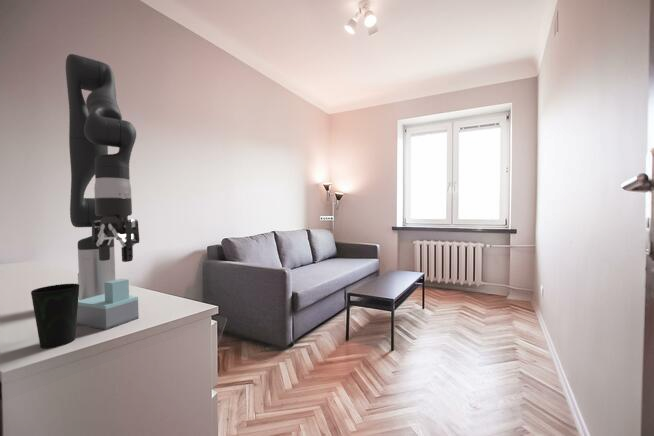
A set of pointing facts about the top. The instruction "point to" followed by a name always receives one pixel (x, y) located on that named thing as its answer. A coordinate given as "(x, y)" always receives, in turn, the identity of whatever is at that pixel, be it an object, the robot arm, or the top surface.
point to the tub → (107, 315)
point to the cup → (56, 314)
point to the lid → (110, 295)
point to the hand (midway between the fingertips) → (115, 260)
